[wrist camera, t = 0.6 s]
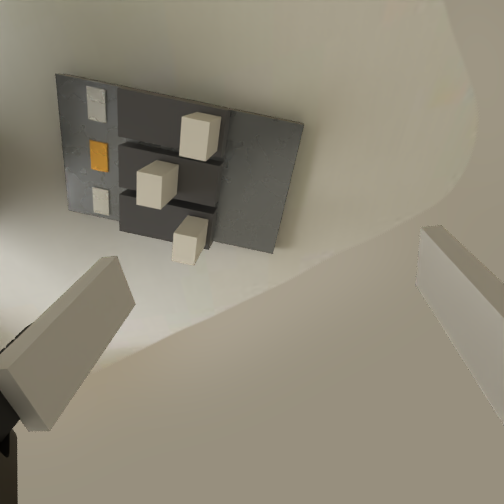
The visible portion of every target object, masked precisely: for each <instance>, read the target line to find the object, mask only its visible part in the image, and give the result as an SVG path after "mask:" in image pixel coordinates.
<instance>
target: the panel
mask: <svg viewBox="0 0 504 504" xmlns="http://www.w3.org/2000/svg"><path fill="white" fill-rule="evenodd" d="M55 75H56V85H57V96H58V106H59V116H60V126H61V137H62V147H63V157H64V167H65V177H66V188H67V198H68V208H69V210H70V211H75V212H79V213H84V214H89V215H93V216H98V217H103V218H107V219H112V220H117V221H119V194H120V193H122V192H123V191H125V190H126V188H122V187H119V168H118V145H120V144H122V143H125V142H131V143H136V144H141V145H146V146H150V147H155V148H160V149H165V150H170V151H174V152H179V149H176V148H171V147H166V146H161V145H157V144H152V143H147V142H142V141H137V140H133V139H128V138H123V137H118V112H117V88H121V87H126V86H121V85H116V84H111V83H106V82H101V81H97V80H92V79H87V78H82V77H77V76H72V75H68V74H55ZM128 88H130V87H128ZM133 89H135V88H133ZM138 90H140V89H138ZM143 91H145V90H143ZM147 92H150V91H147ZM152 93H155V92H152ZM157 94H159V93H157ZM162 95H164V94H162ZM167 96H169V95H167ZM172 97H174V96H172ZM176 98H179V97H176ZM181 99H184V98H181ZM186 100H188V99H186ZM191 101H193V100H191ZM196 102H198V101H196ZM201 103H203V102H201ZM205 104H208V103H205ZM210 105H213V104H210ZM215 106H217V105H215ZM220 107H222V106H220ZM225 108H227V107H225ZM230 109H231V112H230V119H229V126H228V134H227V141H226V148H225V154H224V155H223V156H222V157H221V158H219V157H214V156H211V157H210V158H209V159H213V160H217V161H222V162H224V163H223V170H222V178H221V185H220V192H219V200H218V202H217V204H216V205H215V207H216V208H217V214H216V222H215V229H214V236H213V241H215V242H220V243H225V244H229V245H234V246H239V247H243V248H248V249H253V250H257V251H262V252H267V253H271V254H273V251H274V247H275V243H276V238H277V234H278V230H279V226H280V222H281V218H282V214H283V209H284V205H285V201H286V197H287V193H288V189H289V184H290V180H291V176H292V172H293V168H294V164H295V160H296V155H297V151H298V147H299V143H300V139H301V135H302V131H303V126H304V124H303V123H300V122H295V121H290V120H285V119H280V118H275V117H271V116H266V115H261V114H256V113H251V112H246V111H242V110H237V109H232V108H230Z"/></svg>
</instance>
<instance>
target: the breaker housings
mask: <svg viewBox="0 0 504 504" xmlns="http://www.w3.org/2000/svg"><path fill="white" fill-rule="evenodd" d="M117 112H118V137H123V138H128V139H133V140H137V141H142V142H147V143H152V144H157V145H161V146H166V147H171V148H176V149H179V152H174V151H170V150H165V149H160V148H155V147H150V146H146V145H141V144H136V143H131V142H125V143H122V144H120V145H118V168H119V187H122V188H126V190H125V191H123V192H122V193H120V194H119V224H120V231H124V232H128V233H133V234H138V235H142V236H147V237H152V238H156V239H161V240H166V241H170V242H173V248H172V261H174V262H179V263H184V264H188V265H193V266H194V265H195V263H196V261H197V259H198V258H199V256H200V254H201V252H202V250H203V249H208V250H209V248H210V246H211V244H212V242H213V236H214V229H215V222H216V214H217V208H216V207H215V205H216V204H217V202H218V200H219V192H220V185H221V178H222V170H223V163H224V162H222V161H217V160H213V159H209V158H210V157H211V156H214V157H219V158H221V157H222V156H223V155H224V154H225V148H226V141H227V134H228V126H229V119H230V112H231V109H230V108H225V107H220V106H215V105H210V104H205V103H201V102H196V101H191V100H186V99H181V98H176V97H172V96H167V95H162V94H157V93H152V92H147V91H143V90H138V89H133V88H128V87H121V88H117ZM156 160H159V161H164V162H169V163H173V164H178V165H179V170H178V184H177V194H176V195H175V196H174V197H173V198H172V199H171V200H170V201H169V202H168V203H167V204H166V205H165V206H164V207H163V208H162V209H161V210H160V209H155V208H150V207H146V206H141V205H136V197H137V171H138V170H140V169H142V168H143V167H145V166H147V165H149V164H150V163H152V162H154V161H156Z"/></svg>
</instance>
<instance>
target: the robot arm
mask: <svg viewBox="0 0 504 504" xmlns="http://www.w3.org/2000/svg"><path fill="white" fill-rule="evenodd" d="M415 285H416V287H417V288H418V290H419V292H420V293H421V295H422V296H423V298H424V299H425V301H426V303H427V304H428V306H429V308H430V309H431V310H432V312H433V314H434V315H435V317H436V319H437V320H438V322H439V323H440V325H441V327H442V328H443V329H444V331H445V333H446V335H447V336H448V338H449V339H450V341H451V342H452V344H453V346H454V347H455V349H456V351H457V352H458V354H459V355H460V357H461V358H462V360H463V362H464V363H465V365H466V366H467V368H468V370H469V371H470V373H471V374H472V376H473V378H474V379H475V381H476V382H477V384H478V386H479V387H480V389H481V390H482V392H483V393H484V395H485V397H486V398H487V400H488V401H489V403H490V405H491V406H492V408H493V409H494V411H495V413H496V414H497V416H498V417H499V419H500V420H501V422H502V424H503V425H504V283H503V282H501V281H500V280H499V279H498V278H497V277H496V276H495V275H494V274H493V273H492V272H491V271H490V270H489V269H488V268H487V267H485V266H484V265H483V264H482V263H481V262H480V261H479V260H478V259H477V258H476V257H475V256H474V255H473V254H472V253H470V252H469V251H468V250H467V249H466V248H465V247H464V246H463V245H462V244H461V243H460V242H459V241H458V240H457V239H456V238H454V237H453V236H452V235H451V234H450V233H449V232H448V231H447V230H446V229H445V228H444V227H443V226H442V225H438V226H428V227H421V230H420V241H419V251H418V262H417V274H416V284H415ZM135 305H136V304H135V302H134V299H133V296H132V294H131V291H130V289H129V286H128V283H127V281H126V278H125V276H124V273H123V270H122V268H121V265H120V263H119V260H118V257H117V256H111V257H102V258H101V259H99V260H98V261H97V262H96V263H95V264H94V265H93V266H92V267H91V268H90V269H89V270H88V271H87V272H86V273H85V274H84V275H83V276H82V277H81V278H80V279H79V280H77V281H76V282H75V283H74V284H73V285H72V286H71V287H70V288H69V289H68V290H67V291H66V292H65V293H64V294H63V295H62V296H61V297H60V298H59V299H58V300H57V301H56V302H54V303H53V304H52V305H51V306H50V307H49V308H48V309H47V310H46V311H45V312H44V313H43V314H42V315H41V316H40V317H39V318H38V319H37V320H36V321H35V322H33V323H32V324H30V325H29V326H27V327H26V328H24V329H23V330H22V331H21V332H20V333H19V334H18V335H17V336H16V337H15V340H12V341H11V342H10V343H9V344H8V345H7V346H6V348H3V349H2V350H1V351H0V504H18V503H17V502H18V501H17V436H16V433H15V432H14V431H13V429H12V428H13V427H14V426H15V425H16V423H17V422H18V421H19V420H21V421H22V423H23V424H24V426H25V427H26V428H27V430H28V431H50V430H51V429H52V427H53V426H54V424H55V423H56V421H57V420H58V418H59V417H60V415H61V414H62V412H63V411H64V409H65V408H66V407H67V405H68V404H69V402H70V400H71V399H72V398H73V396H74V395H75V393H76V392H77V390H78V389H79V387H80V386H81V384H82V383H83V381H84V380H85V378H86V377H87V376H88V374H89V373H90V371H91V370H92V368H93V367H94V365H95V364H96V362H97V361H98V359H99V358H100V356H101V355H102V353H103V352H104V350H105V349H106V347H107V346H108V344H109V343H110V342H111V340H112V339H113V337H114V336H115V334H116V333H117V331H118V330H119V328H120V327H121V325H122V324H123V322H124V321H125V319H126V318H127V316H128V315H129V313H130V312H131V310H132V309H133V307H134V306H135Z"/></svg>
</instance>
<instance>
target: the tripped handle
mask: <svg viewBox="0 0 504 504" xmlns="http://www.w3.org/2000/svg"><path fill="white" fill-rule="evenodd" d="M178 170H179V165H178V164H173V163H169V162H164V161H159V160H156V161H154V162H152V163H150V164H149V165H147V166H145V167H143V168H142V169H140V170H138V171H137V197H136V205H141V206H146V207H150V208H155V209H160V210H161V209H162V208H163V207H164V206H165V205H166V204H167V203H168V202H169V201H170V200H171V199H172V198H173V197H174V196H175V195H176V194H177V184H178Z"/></svg>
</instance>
